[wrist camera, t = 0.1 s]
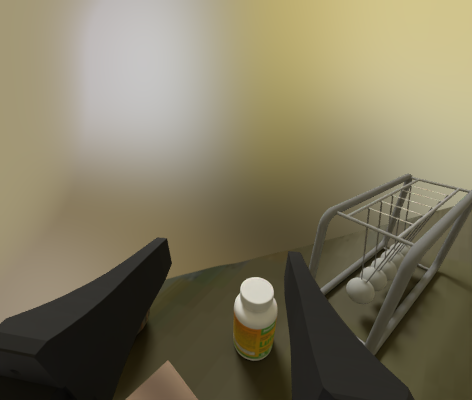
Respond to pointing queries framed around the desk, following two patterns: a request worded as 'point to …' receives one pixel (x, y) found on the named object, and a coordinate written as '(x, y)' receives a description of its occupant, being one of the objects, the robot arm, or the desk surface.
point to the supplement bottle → (254, 319)
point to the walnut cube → (163, 386)
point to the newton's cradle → (392, 254)
